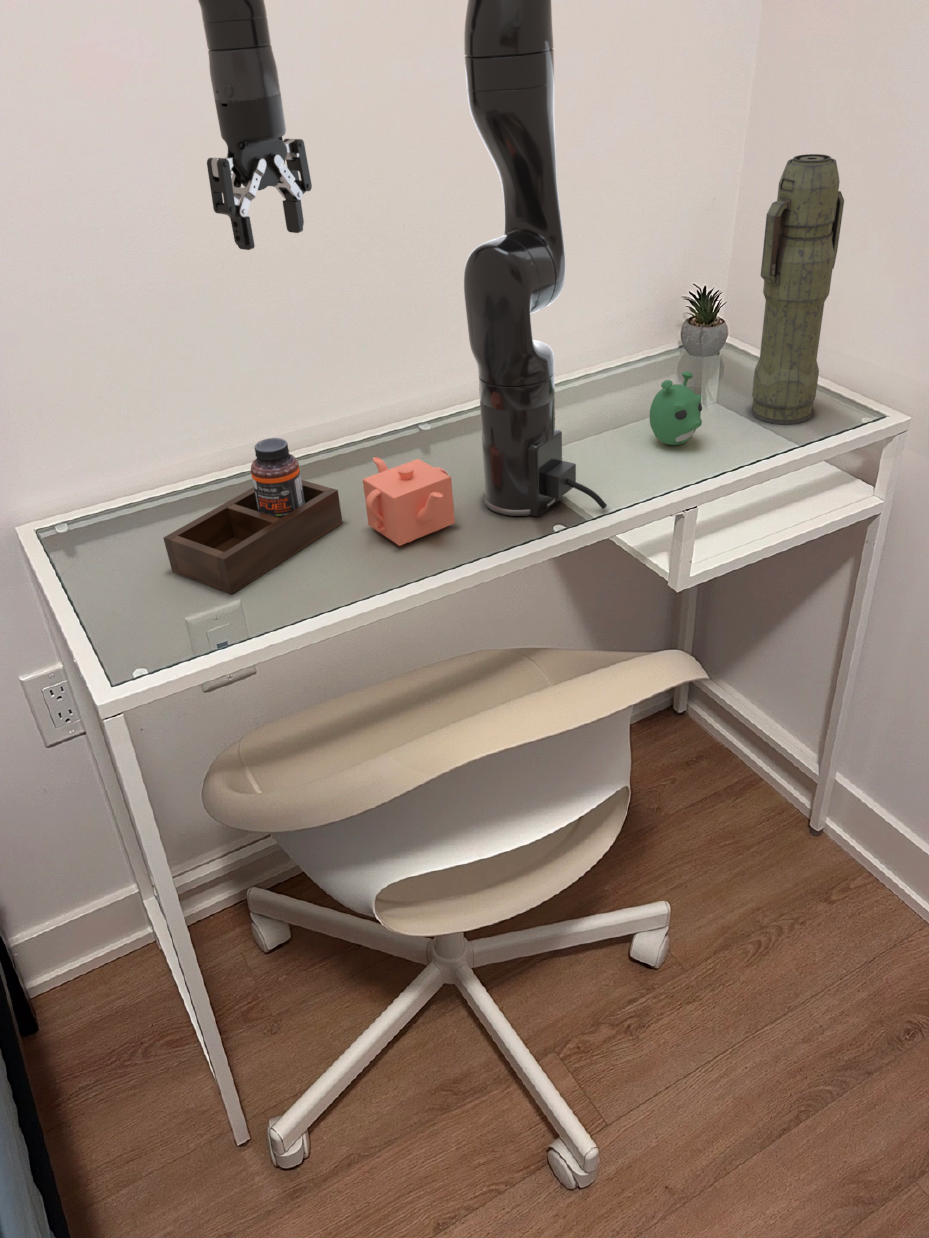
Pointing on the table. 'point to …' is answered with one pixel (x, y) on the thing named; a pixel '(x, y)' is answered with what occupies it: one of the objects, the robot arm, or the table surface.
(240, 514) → the organizer
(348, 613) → the table surface
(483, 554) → the table surface
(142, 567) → the table surface
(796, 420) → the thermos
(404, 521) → the teapot
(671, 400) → the alien toy
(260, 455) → the supplement bottle
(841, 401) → the table surface
